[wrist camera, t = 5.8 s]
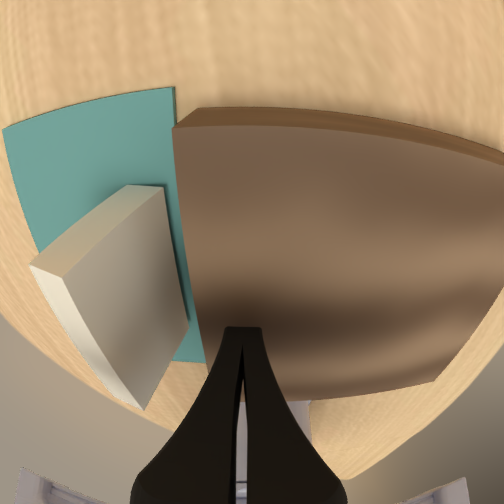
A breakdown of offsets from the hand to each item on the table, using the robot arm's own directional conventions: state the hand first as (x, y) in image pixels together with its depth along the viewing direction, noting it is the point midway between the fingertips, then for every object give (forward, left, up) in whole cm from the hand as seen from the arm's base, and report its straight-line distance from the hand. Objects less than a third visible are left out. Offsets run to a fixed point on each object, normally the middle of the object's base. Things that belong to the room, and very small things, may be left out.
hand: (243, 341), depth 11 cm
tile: (0, +5, -1) cm, 5 cm away
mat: (0, +8, -5) cm, 9 cm away
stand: (0, -6, -5) cm, 8 cm away
